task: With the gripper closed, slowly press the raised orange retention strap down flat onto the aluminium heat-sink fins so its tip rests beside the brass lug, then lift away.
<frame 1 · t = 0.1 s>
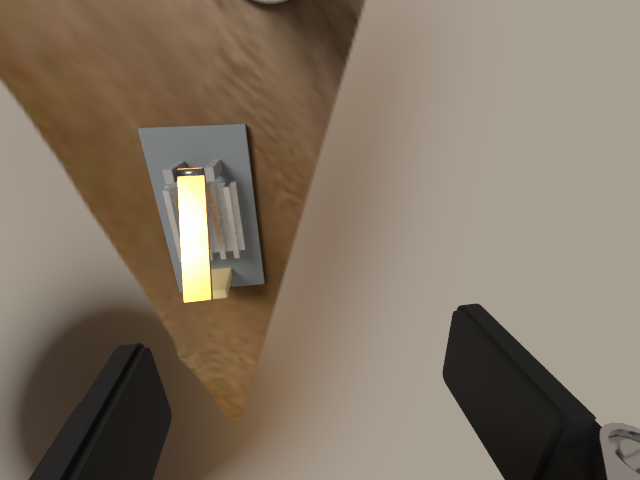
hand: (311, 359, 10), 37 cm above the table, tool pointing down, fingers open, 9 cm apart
strap: (194, 233, 36), point 9 cm above the table, hinge at 30.0°
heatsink: (206, 221, 42), point 3 cm above the table
cpu board: (210, 214, 44), on the table
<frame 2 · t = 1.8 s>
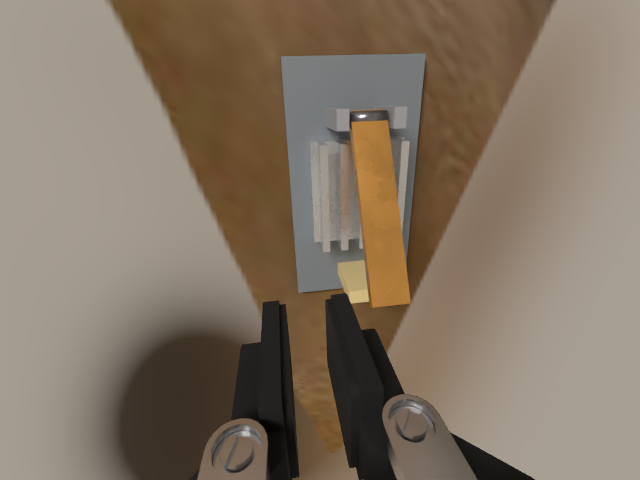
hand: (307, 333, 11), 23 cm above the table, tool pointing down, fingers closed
strap: (378, 205, 24), point 9 cm above the table, hinge at 30.0°
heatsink: (358, 193, 30), point 3 cm above the table
cpu board: (351, 186, 33), on the table
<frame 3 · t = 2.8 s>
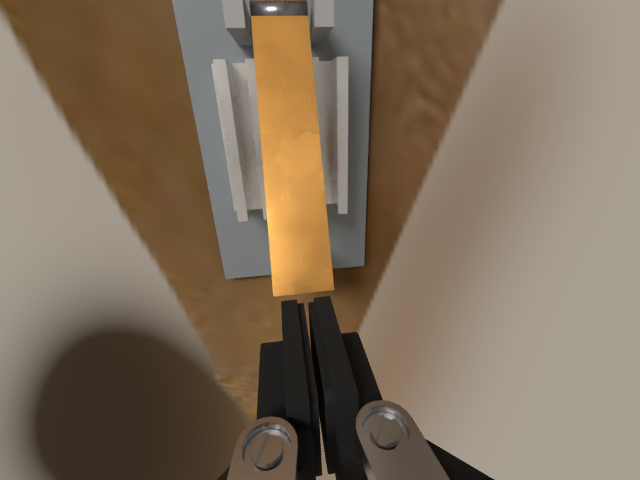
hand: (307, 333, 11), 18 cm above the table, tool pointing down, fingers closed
strap: (290, 142, 16), point 9 cm above the table, hinge at 30.0°
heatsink: (287, 142, 22), point 3 cm above the table
cpu board: (286, 137, 25), on the table
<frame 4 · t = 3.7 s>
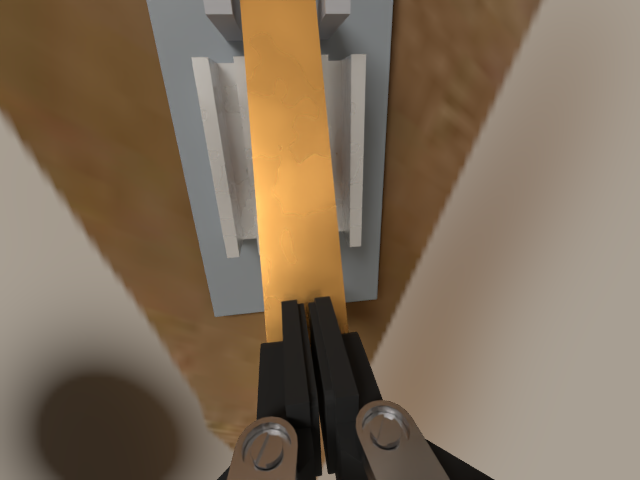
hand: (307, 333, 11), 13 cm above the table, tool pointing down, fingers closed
strap: (292, 167, 12), point 9 cm above the table, hinge at 29.1°, touching gripper
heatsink: (287, 159, 18), point 3 cm above the table
cpu board: (286, 152, 21), on the table
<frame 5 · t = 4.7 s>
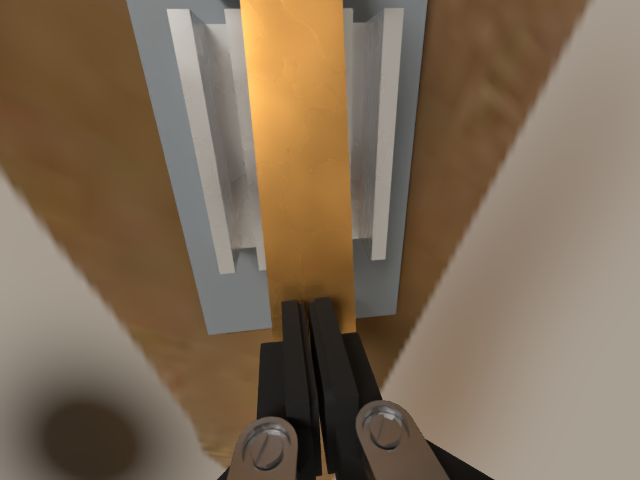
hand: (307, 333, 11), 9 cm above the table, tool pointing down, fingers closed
strap: (303, 172, 10), point 7 cm above the table, hinge at 14.8°, touching gripper
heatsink: (295, 151, 14), point 3 cm above the table
cpu board: (292, 142, 17), on the table
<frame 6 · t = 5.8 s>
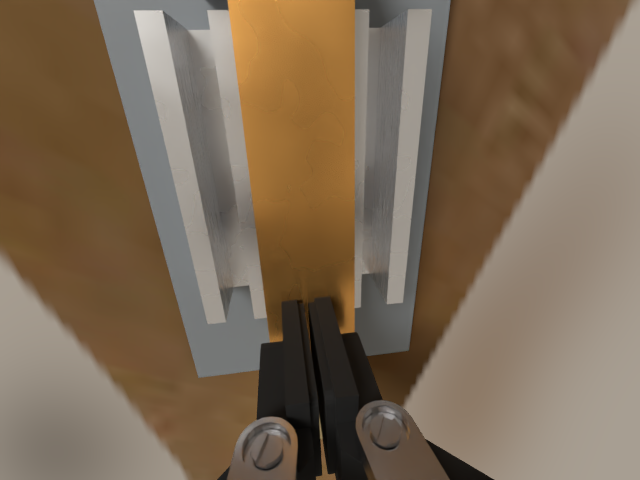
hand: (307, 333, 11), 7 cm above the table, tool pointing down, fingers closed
strap: (304, 206, 9), point 6 cm above the table, hinge at 3.6°, touching gripper
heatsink: (297, 178, 12), point 3 cm above the table
cpu board: (293, 163, 15), on the table
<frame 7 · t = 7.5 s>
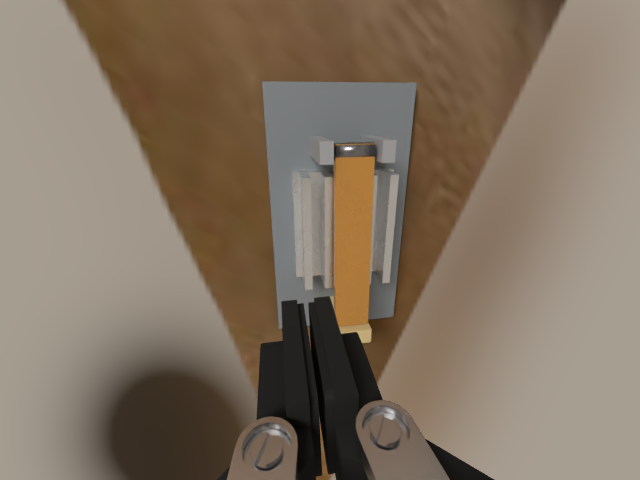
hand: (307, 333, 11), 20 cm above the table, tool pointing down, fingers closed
strap: (352, 241, 25), point 6 cm above the table, hinge at 3.3°
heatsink: (344, 227, 28), point 3 cm above the table
cpu board: (337, 217, 31), on the table
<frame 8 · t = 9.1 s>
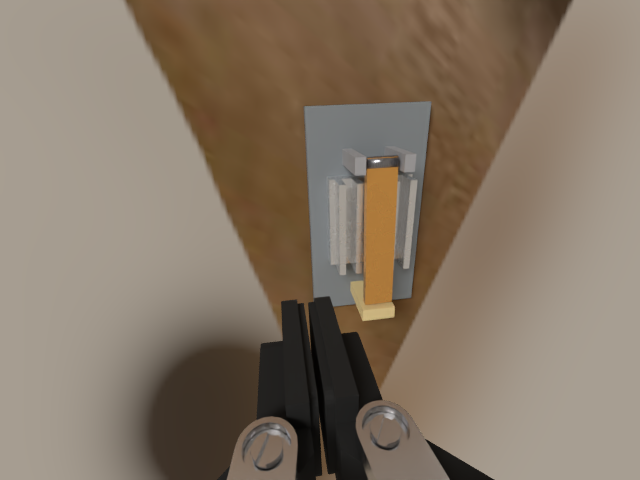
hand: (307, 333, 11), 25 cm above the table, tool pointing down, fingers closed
strap: (379, 235, 31), point 6 cm above the table, hinge at 3.3°
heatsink: (371, 223, 34), point 3 cm above the table
cpu board: (363, 214, 36), on the table
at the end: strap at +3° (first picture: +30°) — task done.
